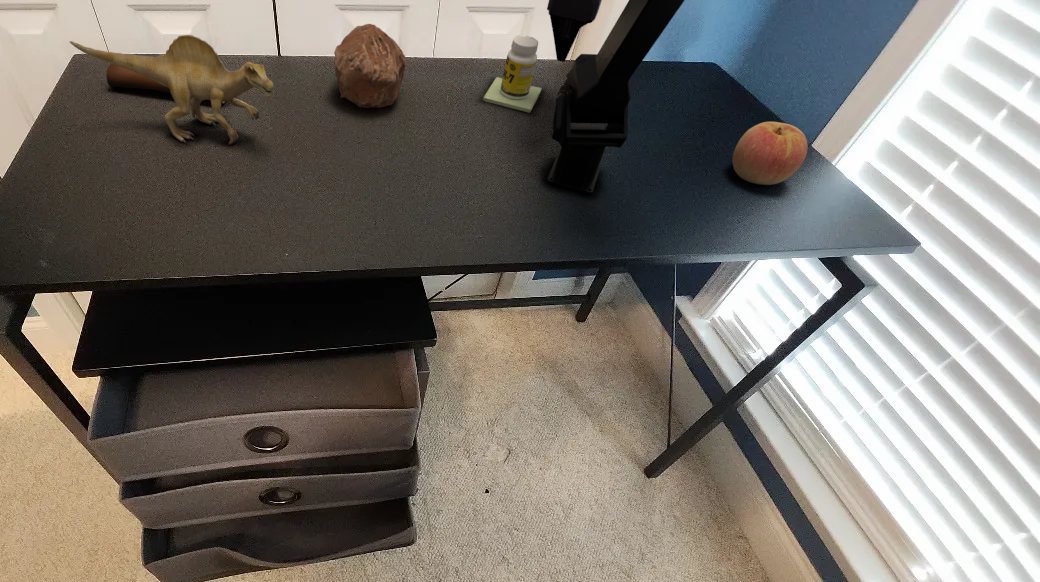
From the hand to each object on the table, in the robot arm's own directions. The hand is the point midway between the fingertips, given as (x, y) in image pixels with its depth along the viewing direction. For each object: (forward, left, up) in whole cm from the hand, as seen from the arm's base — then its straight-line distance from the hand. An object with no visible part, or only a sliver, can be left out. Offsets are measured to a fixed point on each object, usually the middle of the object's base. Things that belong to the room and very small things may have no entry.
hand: (566, 48), depth 86 cm
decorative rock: (-7, +28, -12) cm, 31 cm away
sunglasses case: (-19, +56, -12) cm, 60 cm away
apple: (-1, -32, -12) cm, 34 cm away
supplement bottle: (+5, +7, -11) cm, 14 cm away
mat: (+5, +7, -11) cm, 15 cm away
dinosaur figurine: (-28, +46, -12) cm, 55 cm away
